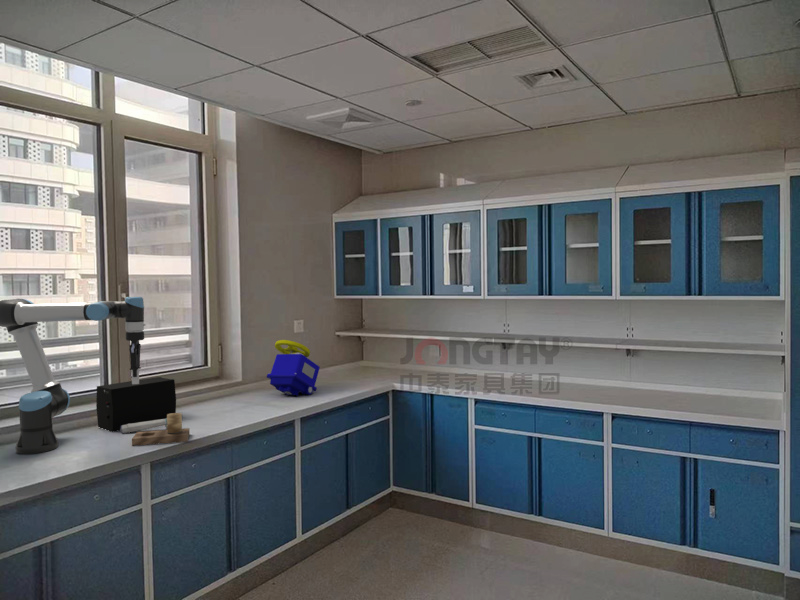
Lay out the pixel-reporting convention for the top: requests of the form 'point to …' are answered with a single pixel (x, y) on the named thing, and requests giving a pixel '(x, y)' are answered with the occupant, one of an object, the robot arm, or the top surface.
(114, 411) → the uninterruptible power supply
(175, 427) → the oak peg
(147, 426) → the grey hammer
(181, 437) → the walnut board
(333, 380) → the top surface
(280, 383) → the control box
